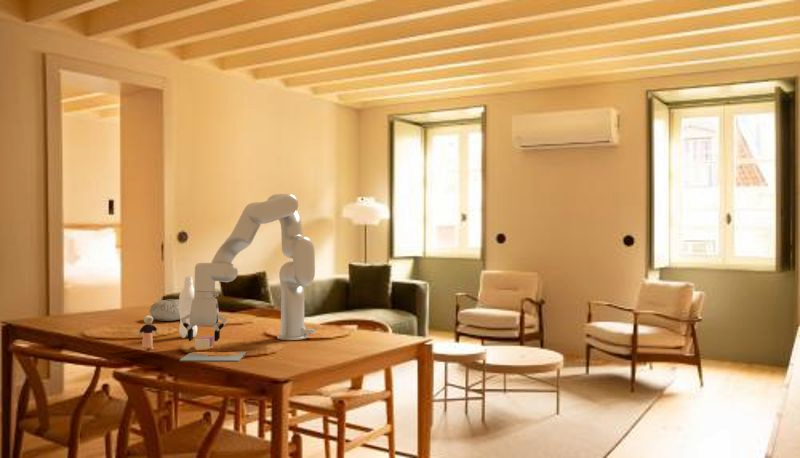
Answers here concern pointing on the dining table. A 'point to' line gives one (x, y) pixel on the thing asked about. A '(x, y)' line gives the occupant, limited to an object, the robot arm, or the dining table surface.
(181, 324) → the water bottle
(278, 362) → the dining table surface
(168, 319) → the grey rounded rock
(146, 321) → the grandmother figurine
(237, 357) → the mat
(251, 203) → the robot arm
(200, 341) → the card deck
